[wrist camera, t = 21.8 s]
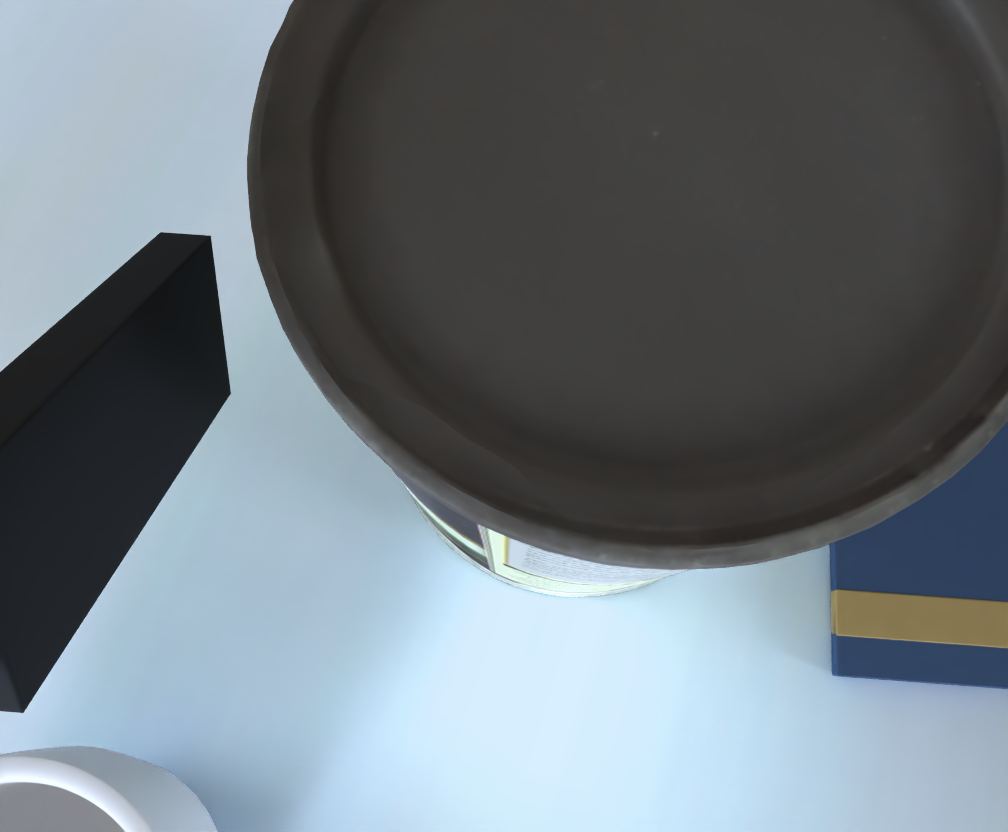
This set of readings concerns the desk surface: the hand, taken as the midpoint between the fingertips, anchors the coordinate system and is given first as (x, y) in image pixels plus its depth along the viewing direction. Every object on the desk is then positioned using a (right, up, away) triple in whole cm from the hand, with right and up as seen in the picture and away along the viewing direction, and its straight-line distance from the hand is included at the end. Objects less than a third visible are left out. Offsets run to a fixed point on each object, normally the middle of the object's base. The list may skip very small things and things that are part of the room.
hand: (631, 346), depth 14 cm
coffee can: (0, -1, +11) cm, 11 cm away
